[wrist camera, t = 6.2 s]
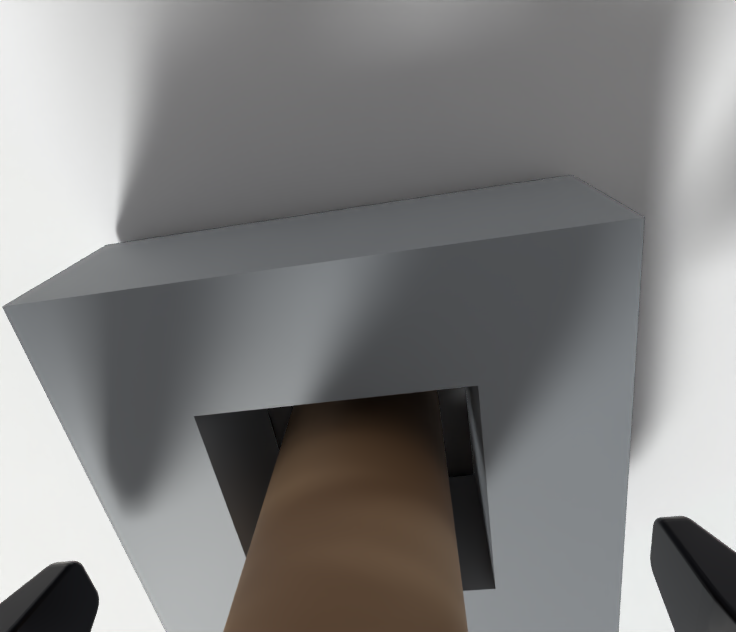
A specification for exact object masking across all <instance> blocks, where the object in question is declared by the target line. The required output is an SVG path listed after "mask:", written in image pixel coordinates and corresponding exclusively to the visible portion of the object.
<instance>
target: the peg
mask: <svg viewBox="0 0 736 632" xmlns="http://www.w3.org/2000/svg"><path fill="white" fill-rule="evenodd" d="M223 632H468V627H467V619H466V611H465V603H464V595H463V587H462V580H461V572H460V564H459V556H458V548H457V540H456V532H455V524H454V517H453V509H452V501H451V493H450V485H449V477H448V469H447V462H446V454H445V446H444V438H443V430H442V422H441V414H440V406H439V399H438V394H437V390H433V391H424V392H414V393H405V394H396V395H386V396H377V397H368V398H358V399H349V400H340V401H331V402H321V403H312V404H303V405H293V409H292V412H291V415H290V418H289V422H288V425H287V428H286V431H285V434H284V438H283V441H282V444H281V447H280V451H279V454H278V457H277V460H276V463H275V467H274V470H273V473H272V476H271V480H270V483H269V486H268V489H267V492H266V496H265V499H264V502H263V505H262V509H261V512H260V515H259V518H258V521H257V525H256V528H255V531H254V534H253V538H252V541H251V544H250V547H249V550H248V554H247V557H246V560H245V563H244V567H243V570H242V573H241V576H240V579H239V583H238V586H237V589H236V592H235V595H234V599H233V602H232V605H231V608H230V612H229V615H228V618H227V621H226V624H225V628H224V631H223Z"/></svg>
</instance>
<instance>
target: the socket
mask: <svg viewBox="0 0 736 632" xmlns="http://www.w3.org/2000/svg"><path fill="white" fill-rule="evenodd" d="M644 222H645V217H644V216H642V215H640V214H638V213H637V212H635V211H633V210H632V209H630V208H628V207H626V206H625V205H623V204H621V203H620V202H618V201H616V200H614V199H613V198H611V197H609V196H608V195H606V194H604V193H603V192H601V191H599V190H597V189H596V188H594V187H592V186H591V185H589V184H587V183H585V182H584V181H582V180H580V179H579V178H577V177H575V176H573V175H567V176H561V177H554V178H547V179H541V180H534V181H527V182H521V183H514V184H508V185H501V186H494V187H488V188H481V189H474V190H468V191H461V192H454V193H448V194H441V195H434V196H428V197H421V198H415V199H408V200H401V201H395V202H388V203H381V204H375V205H368V206H361V207H355V208H348V209H341V210H335V211H328V212H322V213H315V214H308V215H302V216H295V217H288V218H282V219H275V220H268V221H262V222H255V223H248V224H242V225H235V226H229V227H222V228H215V229H209V230H202V231H195V232H189V233H182V234H175V235H169V236H162V237H155V238H149V239H142V240H136V241H129V242H122V243H116V244H109V245H105V246H104V247H102V248H100V249H99V250H97V251H95V252H94V253H92V254H90V255H89V256H87V257H85V258H83V259H82V260H80V261H78V262H77V263H75V264H73V265H72V266H70V267H68V268H67V269H65V270H63V271H62V272H60V273H58V274H57V275H55V276H53V277H51V278H50V279H48V280H46V281H45V282H43V283H41V284H40V285H38V286H36V287H35V288H33V289H31V290H30V291H28V292H26V293H25V294H23V295H21V296H19V297H18V298H16V299H14V300H13V301H11V302H9V303H8V304H6V305H4V306H3V309H4V311H5V313H6V315H7V317H8V319H9V321H10V323H11V325H12V327H13V329H14V331H15V333H16V335H17V337H18V339H19V341H20V343H21V345H22V347H23V349H24V351H25V353H26V355H27V357H28V359H29V361H30V363H31V365H32V367H33V369H34V371H35V373H36V375H37V377H38V379H39V381H40V383H41V385H42V387H43V389H44V391H45V393H46V395H47V397H48V399H49V401H50V403H51V405H52V407H53V409H54V411H55V413H56V415H57V417H58V419H59V421H60V423H61V424H62V426H63V428H64V430H65V432H66V434H67V436H68V438H69V440H70V442H71V444H72V446H73V448H74V450H75V452H76V454H77V456H78V458H79V460H80V462H81V464H82V466H83V468H84V470H85V472H86V474H87V476H88V478H89V480H90V482H91V484H92V486H93V488H94V490H95V492H96V494H97V496H98V498H99V500H100V502H101V504H102V506H103V508H104V510H105V512H106V514H107V516H108V518H109V520H110V522H111V524H112V526H113V528H114V530H115V532H116V534H117V536H118V538H119V540H120V542H121V544H122V546H123V548H124V550H125V552H126V554H127V556H128V558H129V560H130V562H131V564H132V566H133V568H134V570H135V572H136V574H137V576H138V578H139V579H140V581H141V583H142V585H143V587H144V589H145V591H146V593H147V595H148V597H149V599H150V601H151V603H152V605H153V607H154V609H155V611H156V613H157V615H158V617H159V619H160V621H161V623H162V625H163V627H164V629H165V631H166V632H223V631H224V628H225V624H226V621H227V618H228V615H229V612H230V608H231V605H232V602H233V599H234V595H235V592H236V589H237V586H238V583H239V579H240V576H241V573H242V570H243V567H244V563H245V560H246V557H247V554H248V550H249V547H250V544H251V541H252V538H253V534H254V531H255V528H256V525H257V521H258V518H259V515H260V512H261V509H262V505H263V502H264V499H265V496H266V492H267V489H268V486H269V483H270V480H271V476H272V473H273V470H274V467H275V463H276V460H277V457H278V454H279V448H278V445H277V441H276V438H275V435H274V431H273V428H272V424H271V421H270V418H269V414H268V411H267V408H275V407H284V406H293V405H303V404H312V403H321V402H331V401H340V400H349V399H358V398H368V397H377V396H386V395H396V394H405V393H414V392H424V391H433V390H442V389H451V388H461V387H465V389H466V399H467V410H468V420H469V430H470V440H471V450H472V461H473V471H474V475H469V476H458V477H449V485H450V493H451V501H452V509H453V517H454V524H455V532H456V540H457V548H458V556H459V564H460V572H461V580H462V587H463V595H464V603H465V611H466V619H467V627H468V632H619V616H620V600H621V584H622V569H623V553H624V537H625V521H626V506H627V490H628V474H629V458H630V443H631V427H632V411H633V395H634V380H635V364H636V348H637V332H638V317H639V301H640V285H641V270H642V254H643V238H644Z"/></svg>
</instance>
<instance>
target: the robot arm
mask: <svg viewBox="0 0 736 632" xmlns="http://www.w3.org/2000/svg"><path fill="white" fill-rule="evenodd" d="M650 560H651V567H652V571H653V574H654V577H655V580H656V582H657V585H658V588H659V590H660V593H661V596H662V598H663V601H664V604H665V606H666V609H667V612H668V614H669V617H670V620H671V622H672V625H673V628H674V630H675V632H736V552H735V551H733V550H732V549H731V548H729V547H728V546H727V545H725V544H724V543H722V542H721V541H720V540H718V539H717V538H716V537H714V536H713V535H712V534H710V533H709V532H708V531H706V530H705V529H703V528H702V527H701V526H699V525H698V524H697V523H695V522H694V521H693V520H691V519H689V518H687V517H684V516H674V517H660V518H657V519H656V520H655V522H654V525H653V533H652V544H651V555H650ZM98 605H99V596H98V592H97V590H96V588H95V587H94V585H93V583H92V581H91V579H90V578H89V576H88V574H87V572H86V571H85V569H84V567H83V566H82V564H81V563H79V562H77V561H67V562H56V563H53V564H51V565H49V566H48V567H46V568H45V569H44V570H42V571H41V572H40V573H39V574H37V575H36V576H35V577H33V578H32V579H31V580H30V581H28V582H27V583H26V584H25V585H23V586H22V587H21V588H20V589H18V590H17V591H16V592H14V593H13V594H12V595H11V596H9V597H8V598H7V599H6V600H4V601H3V602H2V603H0V632H91V629H92V626H93V623H94V620H95V616H96V613H97V610H98Z"/></svg>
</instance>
